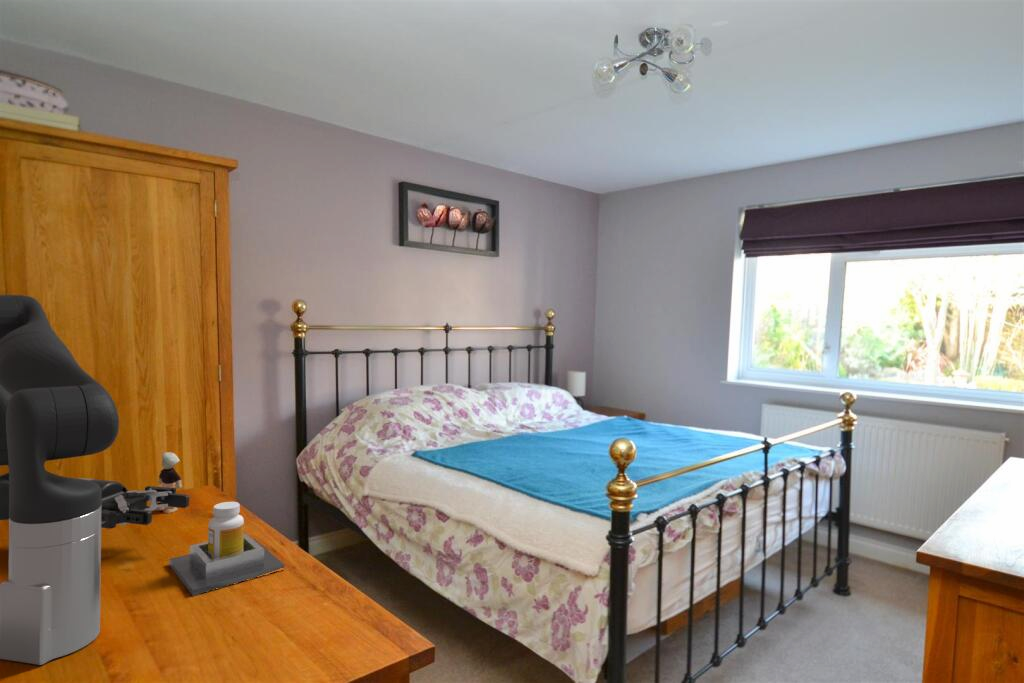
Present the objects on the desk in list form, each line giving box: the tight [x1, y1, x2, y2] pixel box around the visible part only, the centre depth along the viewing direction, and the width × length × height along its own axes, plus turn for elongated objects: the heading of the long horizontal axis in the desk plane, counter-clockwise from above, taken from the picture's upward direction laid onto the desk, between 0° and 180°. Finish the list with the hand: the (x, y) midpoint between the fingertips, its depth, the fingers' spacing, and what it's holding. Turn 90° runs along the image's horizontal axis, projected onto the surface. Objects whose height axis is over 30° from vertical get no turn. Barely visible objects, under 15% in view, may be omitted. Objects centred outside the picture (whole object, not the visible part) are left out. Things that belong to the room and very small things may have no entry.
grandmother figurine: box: [155, 451, 183, 514], centre depth 120 cm, size 8×4×13 cm, turn 73°
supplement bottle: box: [207, 501, 245, 560], centre depth 95 cm, size 5×5×10 cm
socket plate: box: [168, 532, 285, 597], centre depth 95 cm, size 14×14×4 cm
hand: (169, 509), depth 96 cm, fingers open, 8 cm apart
